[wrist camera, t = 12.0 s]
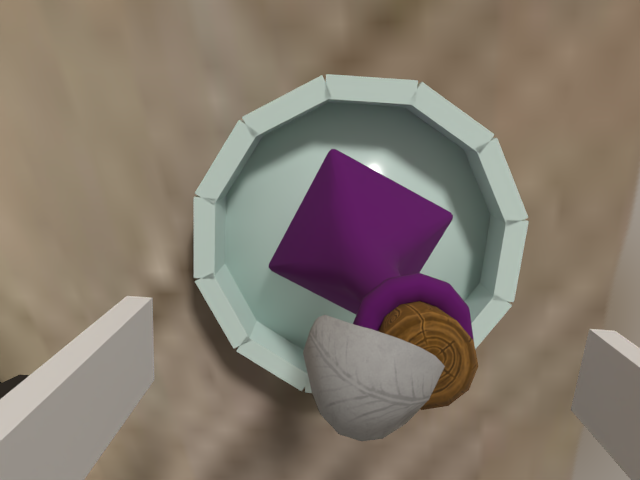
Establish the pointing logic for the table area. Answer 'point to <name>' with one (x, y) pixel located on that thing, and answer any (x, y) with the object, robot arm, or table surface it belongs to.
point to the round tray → (376, 153)
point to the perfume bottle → (376, 301)
